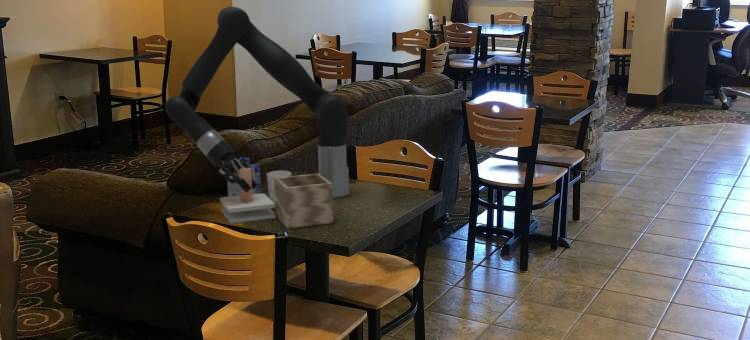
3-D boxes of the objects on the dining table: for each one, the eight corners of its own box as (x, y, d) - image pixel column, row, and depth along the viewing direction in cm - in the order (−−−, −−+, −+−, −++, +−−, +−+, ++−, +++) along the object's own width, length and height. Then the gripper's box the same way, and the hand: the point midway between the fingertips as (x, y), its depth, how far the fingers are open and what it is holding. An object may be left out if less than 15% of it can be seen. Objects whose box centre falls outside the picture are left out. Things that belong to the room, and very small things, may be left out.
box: (319, 210, 254) (318, 173, 251) (333, 222, 241) (332, 183, 238) (275, 216, 249) (274, 178, 246) (287, 228, 236) (285, 188, 233)
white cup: (296, 201, 266) (295, 171, 263) (286, 207, 258) (284, 176, 256) (274, 199, 268) (273, 170, 266) (264, 205, 261) (262, 175, 259)
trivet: (265, 206, 260) (265, 203, 259) (275, 217, 247) (275, 214, 247) (221, 211, 255) (221, 208, 255) (229, 223, 242) (229, 220, 242)
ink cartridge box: (262, 200, 268) (260, 157, 265) (256, 204, 263) (254, 160, 259) (234, 199, 270) (231, 156, 267) (228, 203, 265) (225, 159, 261)
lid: (264, 196, 259) (262, 162, 256) (274, 207, 246) (273, 171, 244) (220, 201, 254) (218, 166, 252) (228, 212, 241) (226, 176, 239)
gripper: (210, 143, 241) (248, 186, 240) (233, 135, 254) (270, 175, 253) (195, 160, 244) (233, 202, 243) (219, 151, 257) (255, 191, 256)
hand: (252, 188), depth 248 cm, fingers closed on lid, 3 cm apart
